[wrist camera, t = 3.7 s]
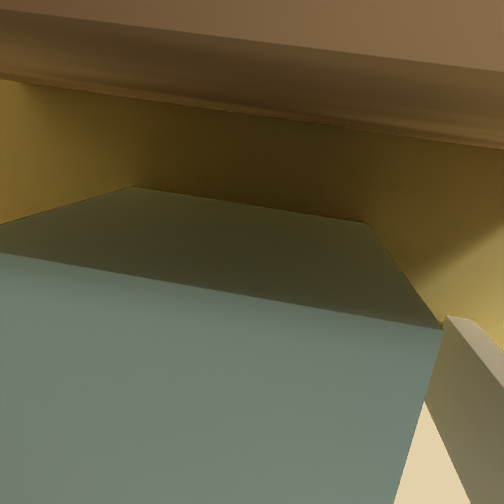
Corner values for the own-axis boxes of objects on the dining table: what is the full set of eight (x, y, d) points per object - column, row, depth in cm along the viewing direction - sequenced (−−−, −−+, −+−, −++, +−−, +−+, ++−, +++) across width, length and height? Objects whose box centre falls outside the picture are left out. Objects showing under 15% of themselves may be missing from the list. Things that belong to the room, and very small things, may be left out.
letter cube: (370, 223, 12) (452, 332, 5) (325, 425, 14) (343, 690, 7) (133, 185, 13) (-61, 241, 6) (122, 385, 15) (-34, 597, 8)
